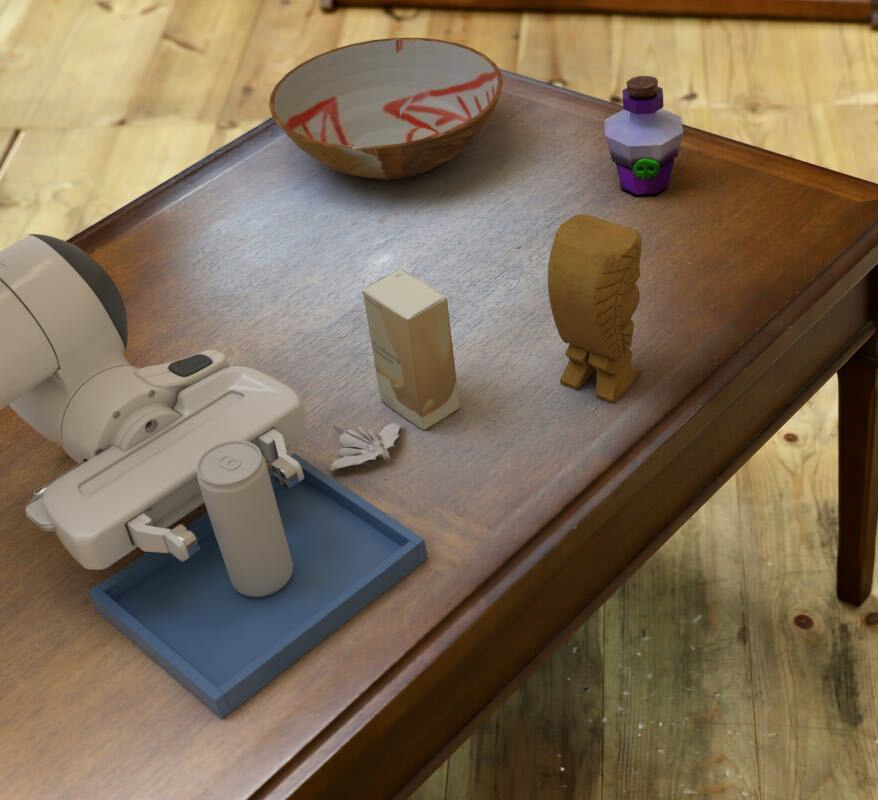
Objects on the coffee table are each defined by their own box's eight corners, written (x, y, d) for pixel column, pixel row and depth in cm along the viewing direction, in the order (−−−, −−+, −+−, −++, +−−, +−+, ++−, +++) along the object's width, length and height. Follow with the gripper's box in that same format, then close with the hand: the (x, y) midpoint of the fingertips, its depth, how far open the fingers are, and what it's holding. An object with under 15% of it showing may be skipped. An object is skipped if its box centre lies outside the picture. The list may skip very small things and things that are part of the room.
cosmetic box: (378, 401, 121) (357, 287, 113) (417, 377, 123) (398, 264, 115) (425, 433, 117) (406, 319, 109) (464, 409, 120) (448, 294, 112)
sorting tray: (221, 719, 95) (215, 700, 94) (95, 610, 103) (87, 592, 102) (428, 558, 106) (424, 539, 105) (299, 471, 114) (294, 452, 113)
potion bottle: (624, 213, 142) (621, 109, 135) (591, 174, 148) (586, 72, 141) (699, 192, 145) (700, 89, 137) (663, 155, 151) (662, 54, 143)
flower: (299, 463, 117) (290, 437, 115) (370, 415, 121) (362, 389, 120) (354, 491, 112) (345, 464, 110) (426, 440, 116) (419, 413, 115)
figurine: (651, 373, 122) (647, 231, 113) (612, 415, 118) (605, 272, 108) (584, 349, 125) (576, 209, 116) (544, 390, 121) (531, 248, 111)
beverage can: (265, 610, 102) (230, 494, 94) (217, 586, 104) (179, 470, 96) (308, 568, 105) (278, 452, 97) (260, 545, 107) (227, 430, 99)
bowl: (267, 221, 144) (251, 154, 139) (299, 105, 163) (286, 42, 158) (507, 208, 144) (500, 141, 139) (511, 94, 163) (505, 30, 158)
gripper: (0, 474, 99) (108, 564, 92) (230, 338, 110) (343, 408, 103) (27, 536, 103) (133, 627, 96) (247, 398, 114) (356, 470, 107)
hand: (244, 512), depth 99 cm, fingers open, 8 cm apart
